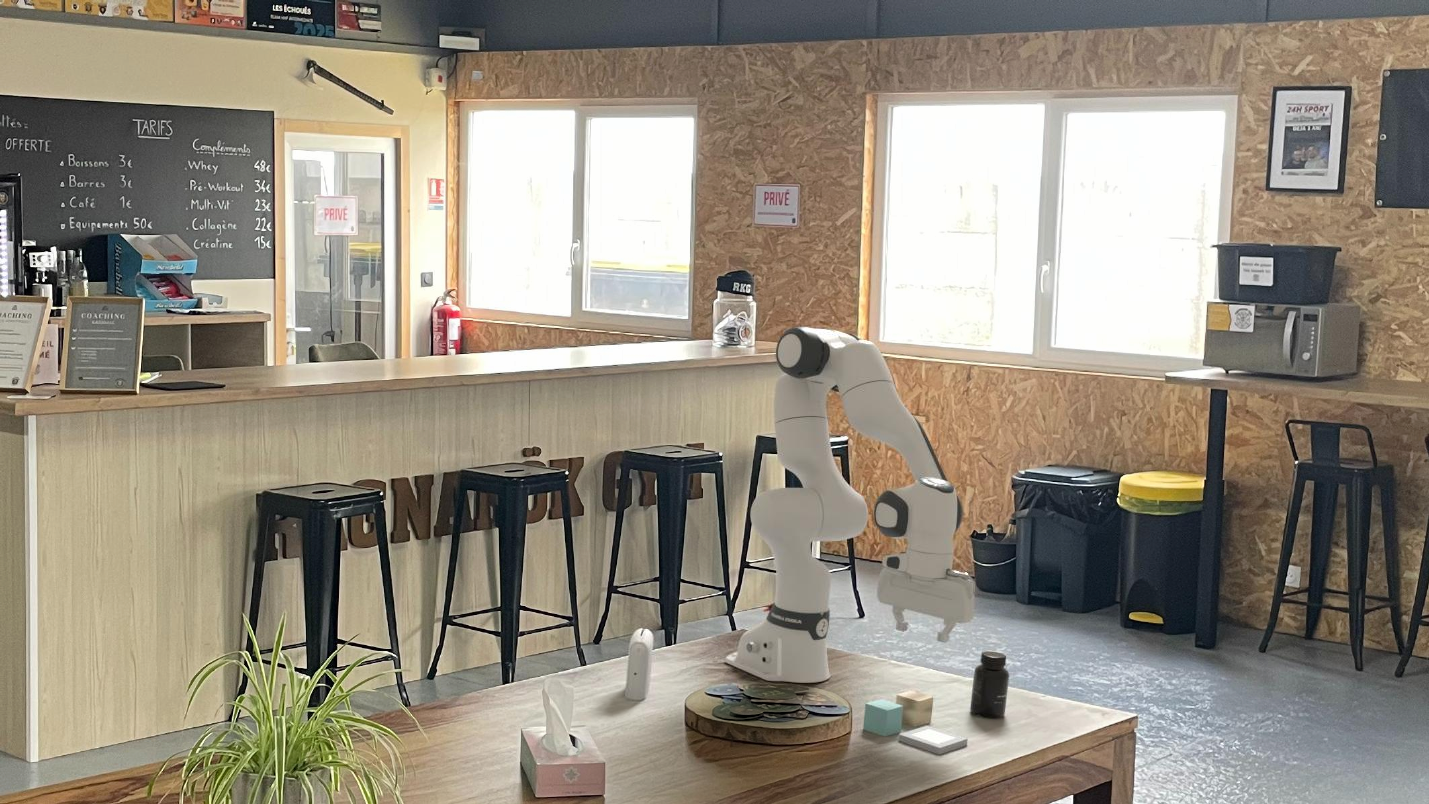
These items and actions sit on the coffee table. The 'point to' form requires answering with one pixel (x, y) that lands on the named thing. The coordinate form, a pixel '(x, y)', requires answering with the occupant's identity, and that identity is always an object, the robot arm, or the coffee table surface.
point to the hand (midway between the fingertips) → (921, 636)
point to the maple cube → (915, 707)
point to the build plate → (933, 739)
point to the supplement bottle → (990, 686)
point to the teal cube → (883, 717)
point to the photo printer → (639, 664)
